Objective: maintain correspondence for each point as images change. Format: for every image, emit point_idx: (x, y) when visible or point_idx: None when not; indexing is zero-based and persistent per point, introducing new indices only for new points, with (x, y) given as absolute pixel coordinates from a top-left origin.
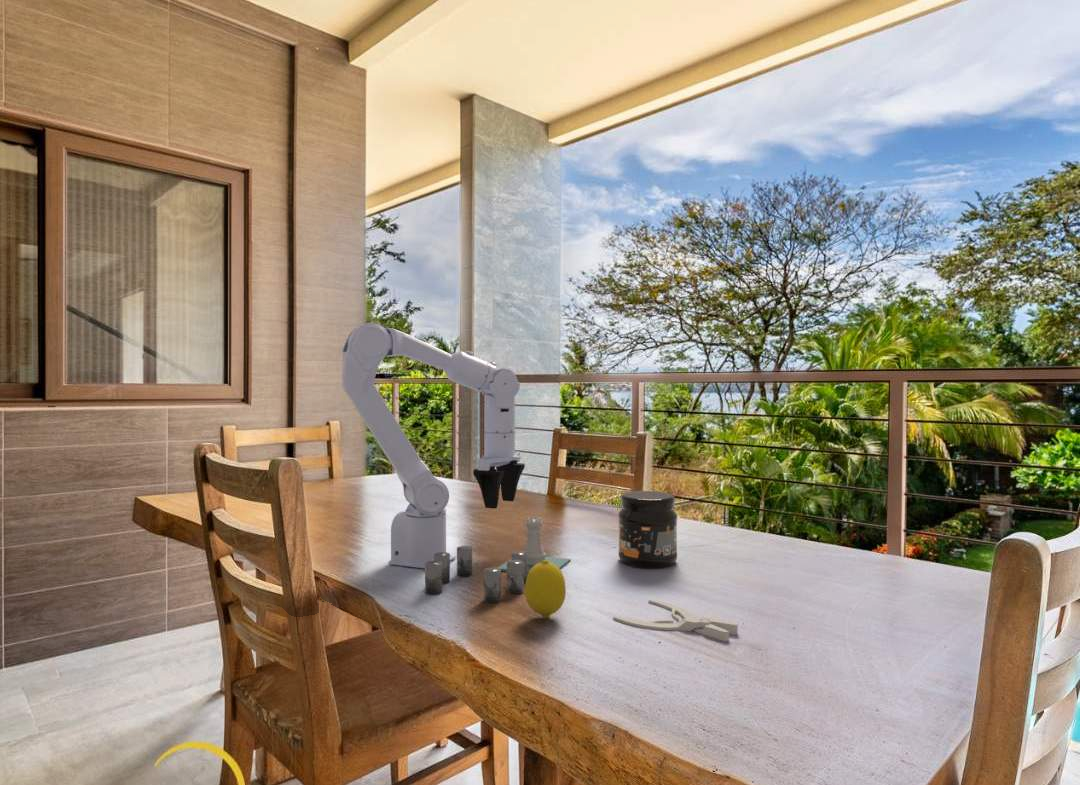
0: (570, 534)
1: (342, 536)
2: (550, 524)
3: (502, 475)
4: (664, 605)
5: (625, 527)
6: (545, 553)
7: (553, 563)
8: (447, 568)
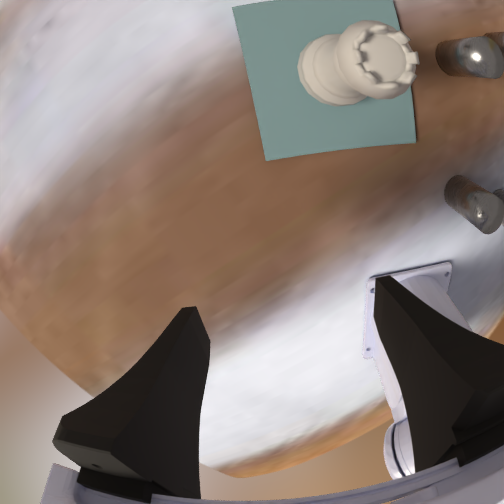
0: (19, 189)
1: (305, 448)
2: (8, 275)
3: (481, 371)
4: None
5: None
6: (323, 37)
7: (304, 23)
8: None
